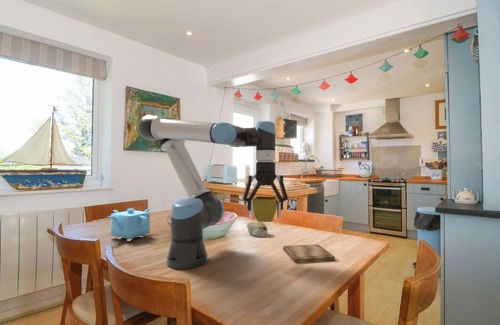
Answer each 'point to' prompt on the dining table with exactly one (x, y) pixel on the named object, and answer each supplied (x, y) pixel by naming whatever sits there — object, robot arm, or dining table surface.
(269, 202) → the flower pot
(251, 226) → the grey rounded lump
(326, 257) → the plate
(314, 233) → the dining table surface
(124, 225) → the teakettle
